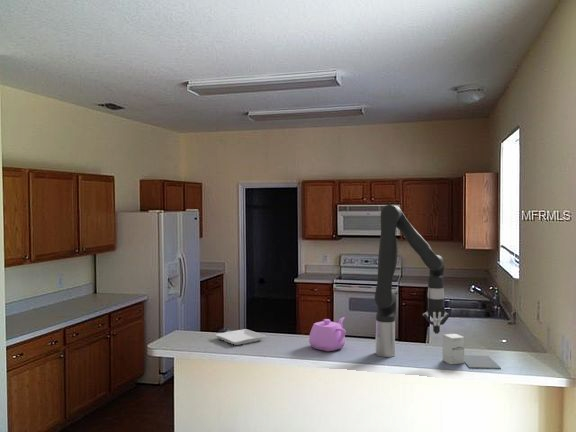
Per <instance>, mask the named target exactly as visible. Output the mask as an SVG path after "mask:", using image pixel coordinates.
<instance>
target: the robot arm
mask: <svg viewBox="0 0 576 432" xmlns="http://www.w3.org/2000/svg"><path fill="white" fill-rule="evenodd" d="M397 230H399V231H400V232H401V234H402V236H403V237H404V239H405V240H406V241H407V243H408V245H409V246H410V247H411V248H412V249H413V251H414V252H415V253H416V254H417V255H418V256H419V257H420V259H421V261H422V262H423V263H424V264H425V266H426V267H427V268H428V269H429V275H428V278H427V279H428V280H427V286H428V287H427V310H426V312H423V313H422V316H423V317H424V319H425V320H426V321H427V322H428V323H429V325H432V331H433V333H434V334H435V335H436V334H439V333H440V332H441V330H440V329H441V328H440V327H441V326H442V325H444V324H445V323H446V322H447V321H448V319H449V318H450V317H451V315H450V313H448V312H447V311H446V309H445V290H444V289H445V288H444V272H445V261H444V258H443V257H442V256H441V255H439V254H436V253H435V252H434V251H433V249H432V247H431V246H430V243H428V242H427V241H426V239H424V237H423V236H422V235H421V234H420V233H419V231H417V230H416V229H415V227H414V226H413V225H412V224H411V223H410V221H409V220H408V219H407V217H406V215H405V213H404V211H402V209H401V208H400V207H399V206H398V205H396V204H387V205H384V207H382V208H381V211H380V236H379V237H380V238H379V247H378V257H377V258H378V259H377V260H378V261H377V280H376V287H375V293H374V302H375V305H376V306H377V312H376V315H375V316H376V317H375V329H376V330H375V354H376V355H375V356H377V357H382V358H383V357H384V358H392V357H394V356H396V333H395V332H396V320H395V319H396V314H397V296H396V293H395V291H394V290H393V289H392V288H393V280H394V279H393V278H394V276H395V273H396V269H397V265H398V253H399V249H398V243H397V237H396V232H397ZM429 316H430V317H431V319H432V320H431V319H430V318H429Z"/></svg>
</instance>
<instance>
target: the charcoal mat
mask: <svg viewBox="0 0 576 432" xmlns="http://www.w3.org/2000/svg"><path fill="white" fill-rule="evenodd" d="M464 363H465V365H466V367H468V369H483V370H484V369H485V370H489V369H490V370H502V369H501V366H500V365H499V364H498V363H496V361H495V360H494V359H492V358H491V357H490V356H489V355H478V354H477V355H475V354H474V355H473V354H472V355H471V354H466V355H465V354H464ZM464 363H463V364H464Z"/></svg>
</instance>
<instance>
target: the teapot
mask: <svg viewBox="0 0 576 432" xmlns="http://www.w3.org/2000/svg"><path fill="white" fill-rule="evenodd" d="M345 318H346V317H345V316H343V317H341V318H339V319H338V322H335V321H331V319H329V318H324V319H323V320H322V321H318V322H315V323H313V325H312V327H311V330H310V332H309V339H308V342H309V344H310V346H311V347H312V348H314V349H315V350H316V349H317V350H319V351H325V352H333V351H337V350H340V349H342V348H344V346H345V345H346V337H345V336H346V332H347V331H346V329H345V328H343V321H345Z"/></svg>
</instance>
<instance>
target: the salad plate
mask: <svg viewBox="0 0 576 432" xmlns="http://www.w3.org/2000/svg"><path fill="white" fill-rule="evenodd" d="M214 337H215V338H216V337H217V339H218V340H219V339H220V341H221V340H222V341H223V340H224V341H223V342H226V343H228V344H230V343H231V344H230V345H233V344H234V345H233V346H241V344H242V345H246V344H250V343H255V342H258V341H259V342H260V341H263V340H264V339H265V338H266V335H265V334H262V333H260V332H259V333H258V332H256V331H253V330H250V329H247V328H243V329H238V330H232V331H226V332H221V333H216V334H215V336H214Z"/></svg>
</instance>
